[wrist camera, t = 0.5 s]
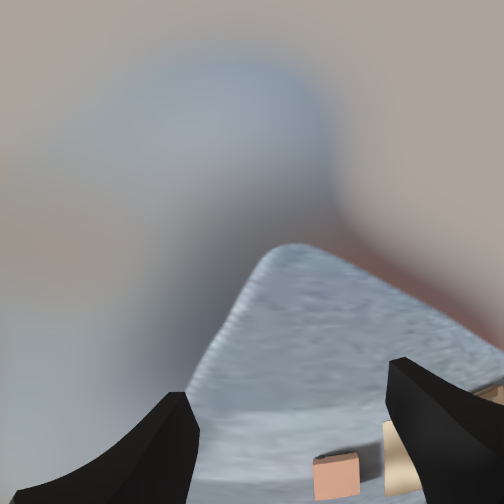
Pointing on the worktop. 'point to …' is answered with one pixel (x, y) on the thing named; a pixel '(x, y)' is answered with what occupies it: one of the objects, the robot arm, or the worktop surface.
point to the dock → (398, 461)
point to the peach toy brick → (336, 476)
